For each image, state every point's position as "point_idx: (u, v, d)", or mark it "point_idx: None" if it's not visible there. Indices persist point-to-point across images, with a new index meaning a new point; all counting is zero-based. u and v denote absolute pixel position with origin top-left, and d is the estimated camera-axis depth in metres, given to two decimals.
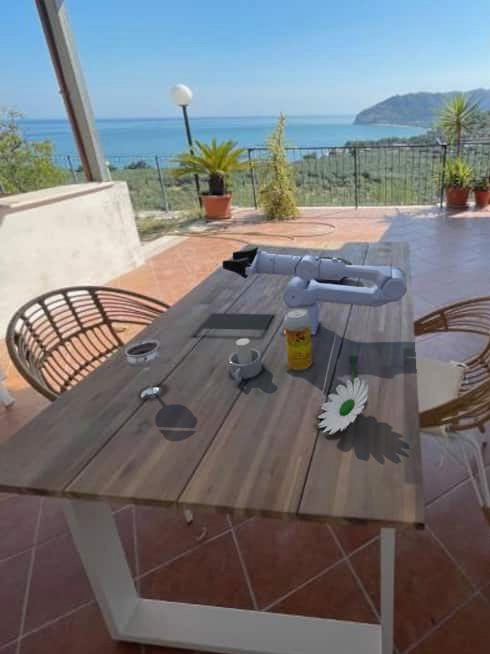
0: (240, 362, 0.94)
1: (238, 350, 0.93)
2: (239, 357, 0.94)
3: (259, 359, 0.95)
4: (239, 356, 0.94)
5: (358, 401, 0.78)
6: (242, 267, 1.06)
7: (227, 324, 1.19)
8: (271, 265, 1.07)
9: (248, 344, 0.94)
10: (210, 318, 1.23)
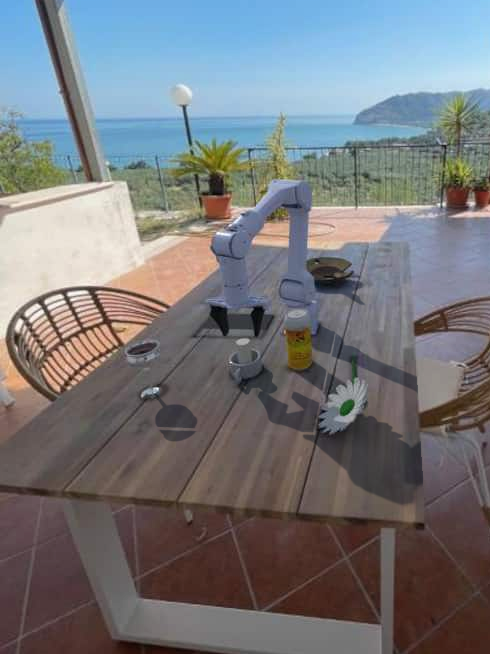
0: (240, 362, 0.94)
1: (238, 350, 0.93)
2: (239, 357, 0.94)
3: (259, 359, 0.95)
4: (239, 356, 0.94)
5: (358, 401, 0.78)
6: None
7: None
8: (246, 285, 0.88)
9: (248, 344, 0.94)
10: (210, 318, 1.23)
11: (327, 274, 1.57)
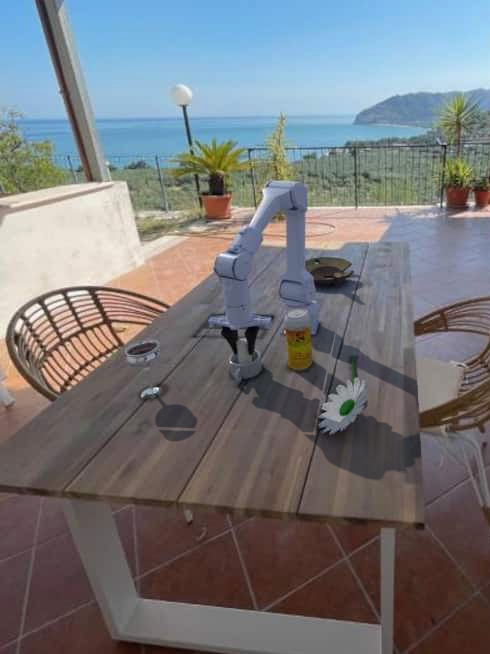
0: (240, 362, 0.94)
1: (238, 350, 0.93)
2: (239, 357, 0.94)
3: (259, 359, 0.95)
4: (239, 356, 0.94)
5: (358, 401, 0.78)
6: None
7: None
8: (248, 305, 0.90)
9: None
10: None
11: (327, 274, 1.57)
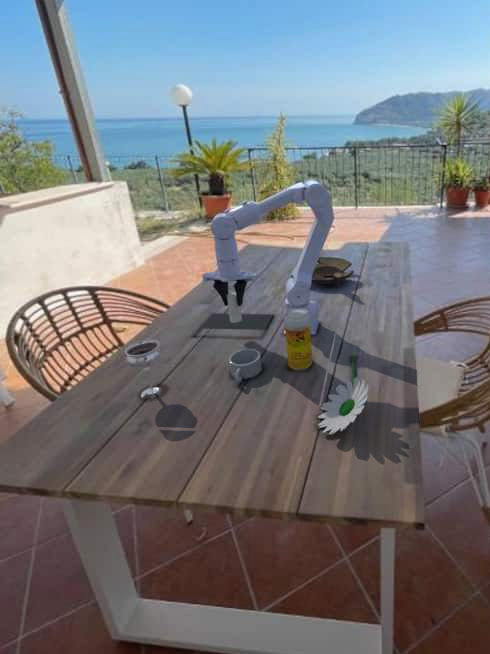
0: (230, 313, 1.08)
1: (228, 302, 1.07)
2: (229, 308, 1.08)
3: (259, 359, 0.95)
4: (229, 307, 1.08)
5: (358, 401, 0.78)
6: None
7: (227, 324, 1.19)
8: (237, 261, 1.04)
9: None
10: (210, 318, 1.23)
11: (327, 274, 1.57)
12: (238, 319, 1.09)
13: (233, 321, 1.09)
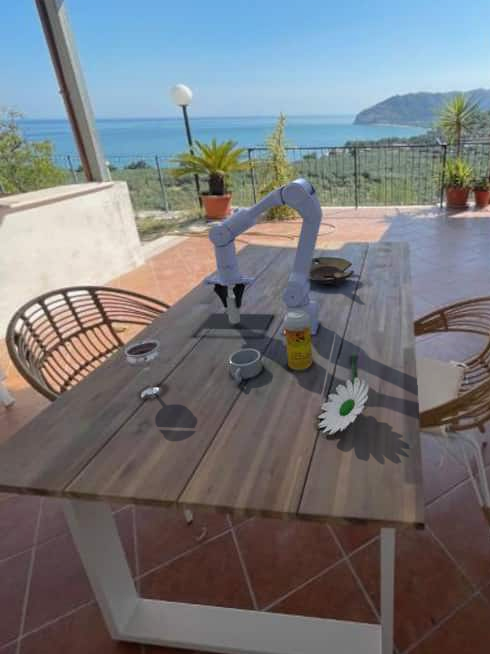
0: (229, 314, 1.16)
1: (228, 304, 1.15)
2: (229, 310, 1.16)
3: (259, 359, 0.95)
4: (229, 309, 1.15)
5: (358, 401, 0.78)
6: None
7: (227, 324, 1.19)
8: (236, 266, 1.11)
9: None
10: (210, 318, 1.23)
11: (327, 274, 1.57)
12: (237, 320, 1.17)
13: (232, 322, 1.17)
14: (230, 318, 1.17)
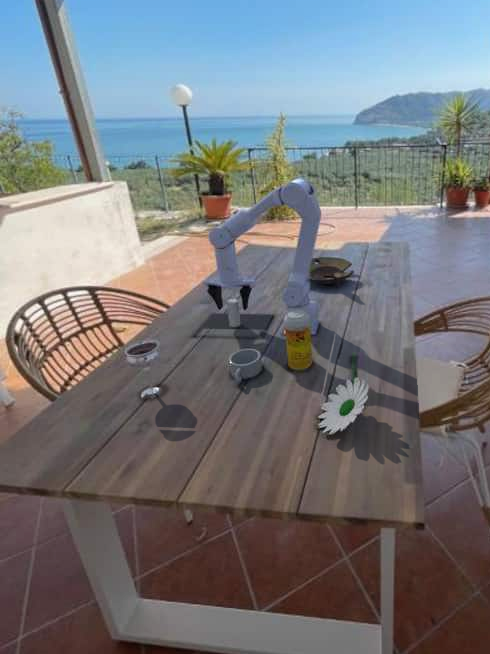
0: (230, 318, 1.16)
1: (228, 307, 1.15)
2: (229, 313, 1.16)
3: (259, 359, 0.95)
4: (229, 312, 1.16)
5: (358, 401, 0.78)
6: None
7: (227, 324, 1.19)
8: (236, 268, 1.11)
9: (236, 303, 1.16)
10: (210, 318, 1.23)
11: (327, 274, 1.57)
12: (237, 324, 1.17)
13: (232, 325, 1.17)
14: (230, 321, 1.17)
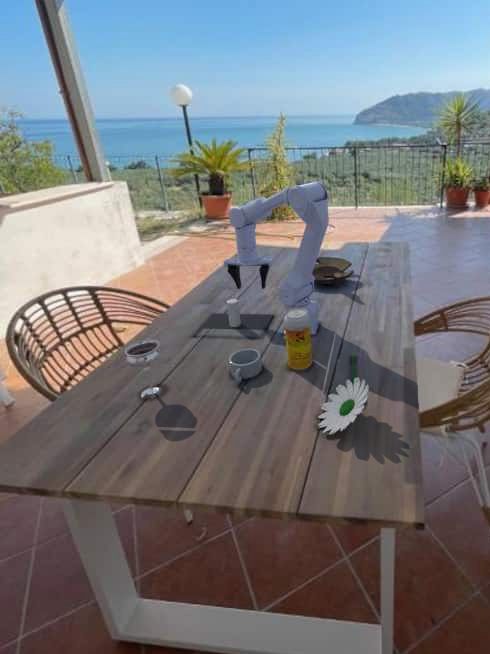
0: (230, 318, 1.16)
1: (228, 307, 1.15)
2: (229, 313, 1.16)
3: (259, 359, 0.95)
4: (229, 312, 1.16)
5: (358, 401, 0.78)
6: None
7: (227, 324, 1.19)
8: (255, 248, 1.17)
9: (236, 303, 1.16)
10: (210, 318, 1.23)
11: (327, 274, 1.57)
12: (237, 324, 1.17)
13: (232, 325, 1.17)
14: (230, 321, 1.17)
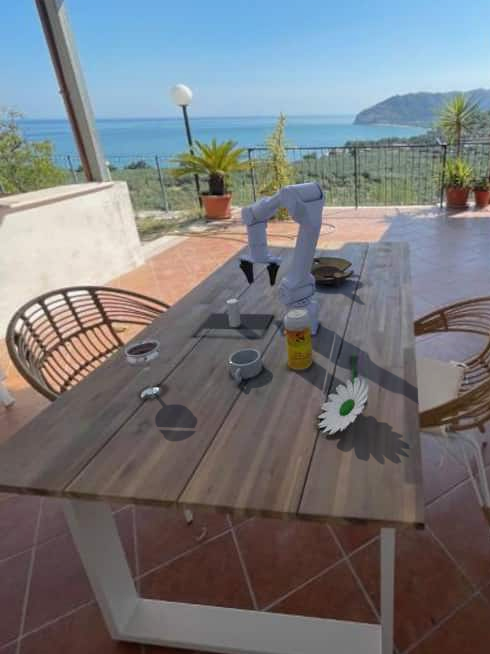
0: (230, 318, 1.16)
1: (228, 307, 1.15)
2: (229, 313, 1.16)
3: (259, 359, 0.95)
4: (229, 312, 1.16)
5: (358, 401, 0.78)
6: None
7: (227, 324, 1.19)
8: (265, 246, 1.20)
9: (236, 303, 1.16)
10: (210, 318, 1.23)
11: (327, 274, 1.57)
12: (237, 324, 1.17)
13: (232, 325, 1.17)
14: (230, 321, 1.17)
